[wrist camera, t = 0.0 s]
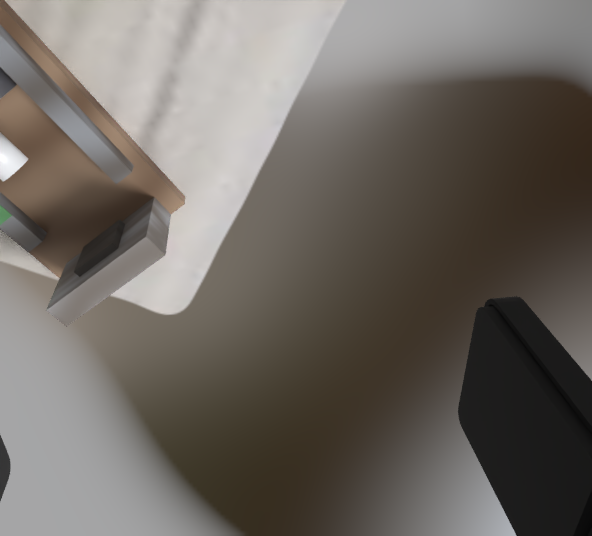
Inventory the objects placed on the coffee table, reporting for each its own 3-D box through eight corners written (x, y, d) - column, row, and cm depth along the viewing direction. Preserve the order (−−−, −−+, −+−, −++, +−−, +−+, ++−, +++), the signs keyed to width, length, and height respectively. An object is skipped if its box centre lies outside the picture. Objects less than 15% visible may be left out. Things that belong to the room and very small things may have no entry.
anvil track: (-174, 67, 40) (-259, 97, 32) (-48, -56, 37) (-110, -52, 30) (74, 278, 51) (52, 336, 44) (185, 196, 48) (181, 243, 41)
